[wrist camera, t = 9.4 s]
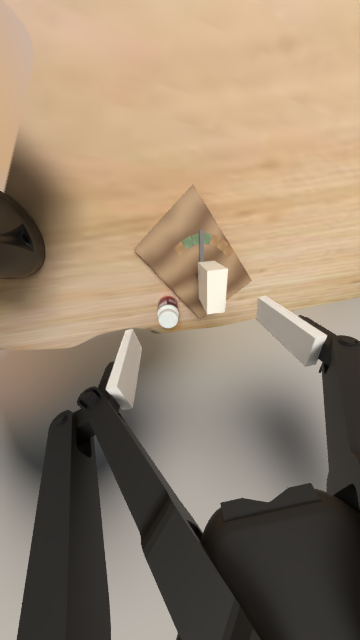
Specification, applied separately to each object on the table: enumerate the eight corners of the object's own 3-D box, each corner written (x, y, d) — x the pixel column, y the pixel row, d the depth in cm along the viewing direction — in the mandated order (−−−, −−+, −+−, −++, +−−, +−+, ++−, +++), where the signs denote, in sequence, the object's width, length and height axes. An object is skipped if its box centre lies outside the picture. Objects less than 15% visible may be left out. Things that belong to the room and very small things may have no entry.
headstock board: (135, 248, 31) (133, 249, 29) (191, 187, 27) (192, 183, 25) (198, 315, 40) (200, 319, 39) (247, 278, 36) (251, 280, 35)
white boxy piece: (195, 291, 34) (207, 314, 25) (193, 230, 28) (207, 230, 19) (208, 289, 35) (224, 312, 25) (208, 229, 28) (231, 227, 19)
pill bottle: (180, 304, 38) (184, 321, 31) (166, 315, 40) (166, 333, 32) (169, 290, 36) (170, 305, 29) (154, 302, 37) (151, 318, 30)
